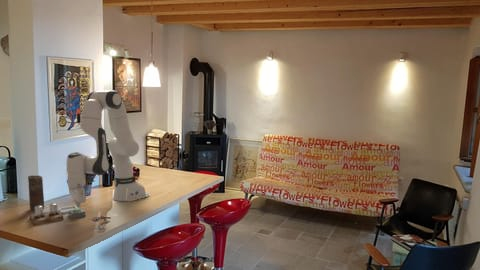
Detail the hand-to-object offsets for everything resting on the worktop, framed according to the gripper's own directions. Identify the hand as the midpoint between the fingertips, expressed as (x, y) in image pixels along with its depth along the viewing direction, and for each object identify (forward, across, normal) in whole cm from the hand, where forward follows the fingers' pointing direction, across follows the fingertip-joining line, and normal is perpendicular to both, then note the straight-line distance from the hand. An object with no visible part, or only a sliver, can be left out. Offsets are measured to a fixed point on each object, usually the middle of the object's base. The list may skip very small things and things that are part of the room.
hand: (78, 206), depth 202 cm
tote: (+5, +11, +3) cm, 13 cm away
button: (+5, 0, +1) cm, 5 cm away
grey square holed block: (+5, 0, +1) cm, 5 cm away
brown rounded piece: (+5, +24, +16) cm, 30 cm away
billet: (+5, +4, +12) cm, 13 cm away
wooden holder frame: (+5, +4, +15) cm, 17 cm away
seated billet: (+5, +4, +19) cm, 20 cm away
